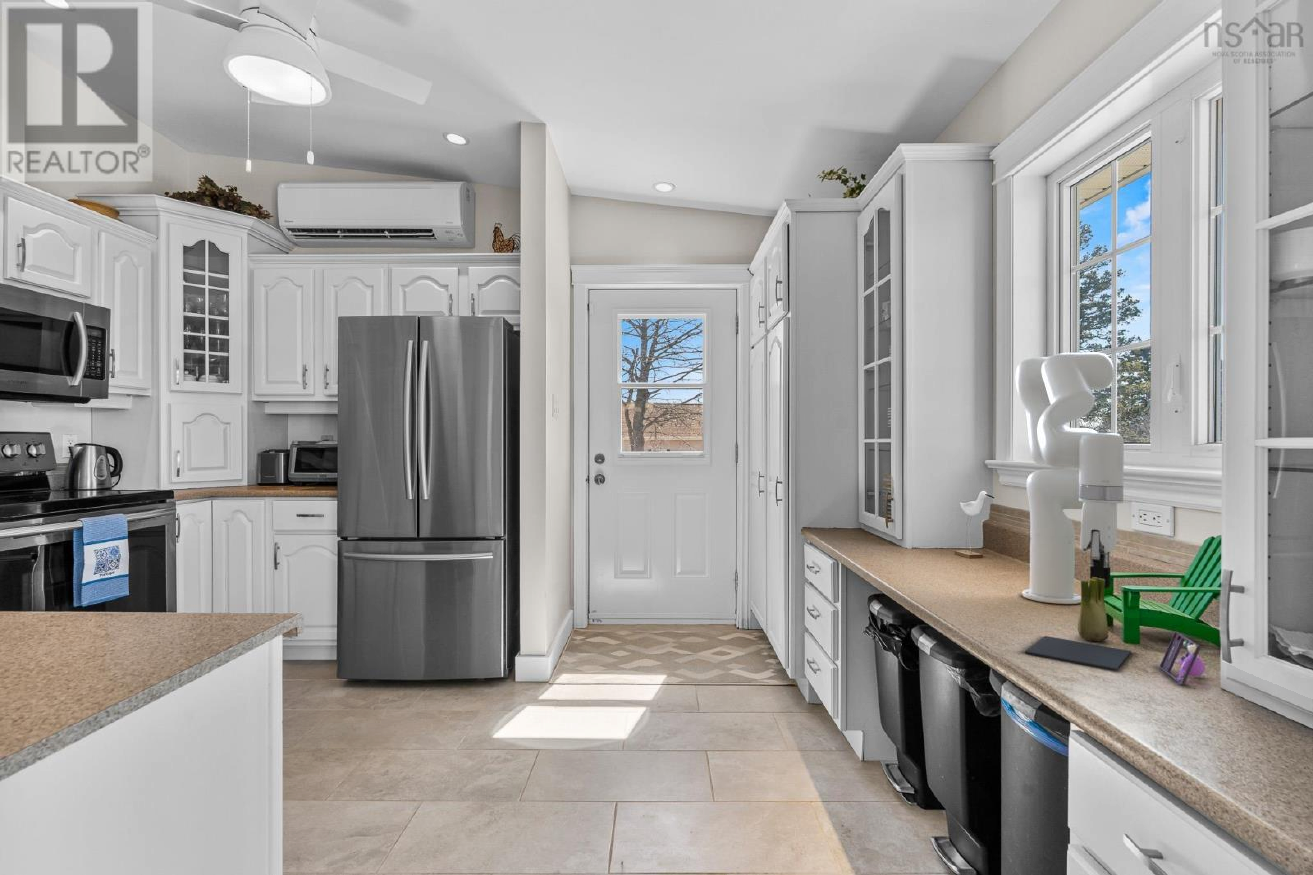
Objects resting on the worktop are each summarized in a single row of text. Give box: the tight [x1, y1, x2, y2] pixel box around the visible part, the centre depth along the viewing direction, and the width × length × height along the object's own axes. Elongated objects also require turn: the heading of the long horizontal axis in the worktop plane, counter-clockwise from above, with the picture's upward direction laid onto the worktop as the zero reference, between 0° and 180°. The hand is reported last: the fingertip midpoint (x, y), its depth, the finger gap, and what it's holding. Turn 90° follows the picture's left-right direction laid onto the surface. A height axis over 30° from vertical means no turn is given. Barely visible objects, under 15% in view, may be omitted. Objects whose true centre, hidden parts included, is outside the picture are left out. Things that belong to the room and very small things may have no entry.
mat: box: [1024, 635, 1132, 672], centre depth 127 cm, size 14×14×1 cm
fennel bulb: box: [1076, 577, 1109, 642], centre depth 136 cm, size 6×5×12 cm
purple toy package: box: [1159, 630, 1206, 686], centre depth 114 cm, size 7×5×9 cm
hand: (1100, 586), depth 141 cm, fingers closed
